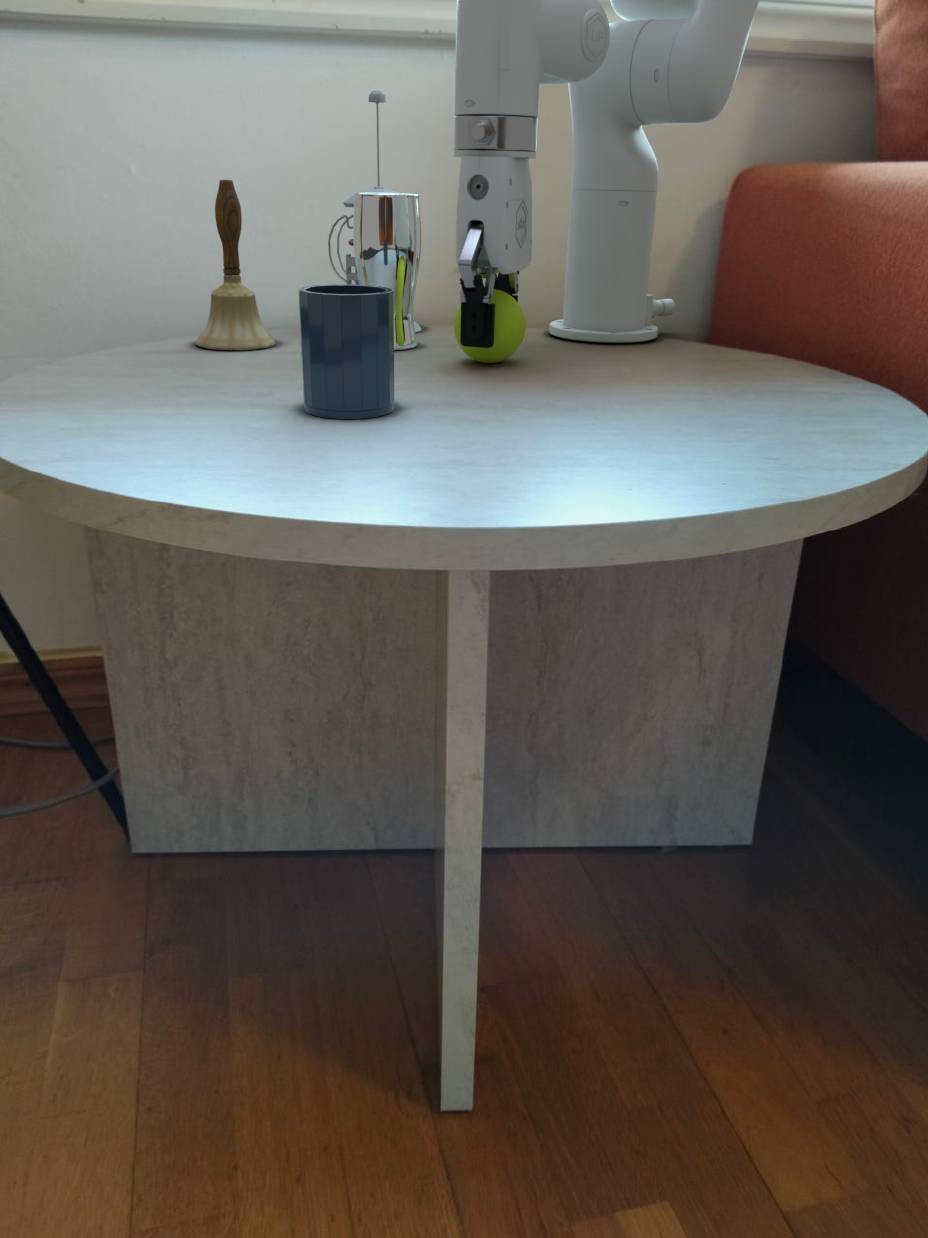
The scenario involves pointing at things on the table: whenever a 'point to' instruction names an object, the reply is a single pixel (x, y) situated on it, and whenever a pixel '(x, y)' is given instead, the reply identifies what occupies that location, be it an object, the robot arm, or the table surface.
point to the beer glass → (390, 252)
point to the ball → (498, 330)
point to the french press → (350, 261)
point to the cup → (347, 350)
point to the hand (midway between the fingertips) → (489, 339)
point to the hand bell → (232, 287)
